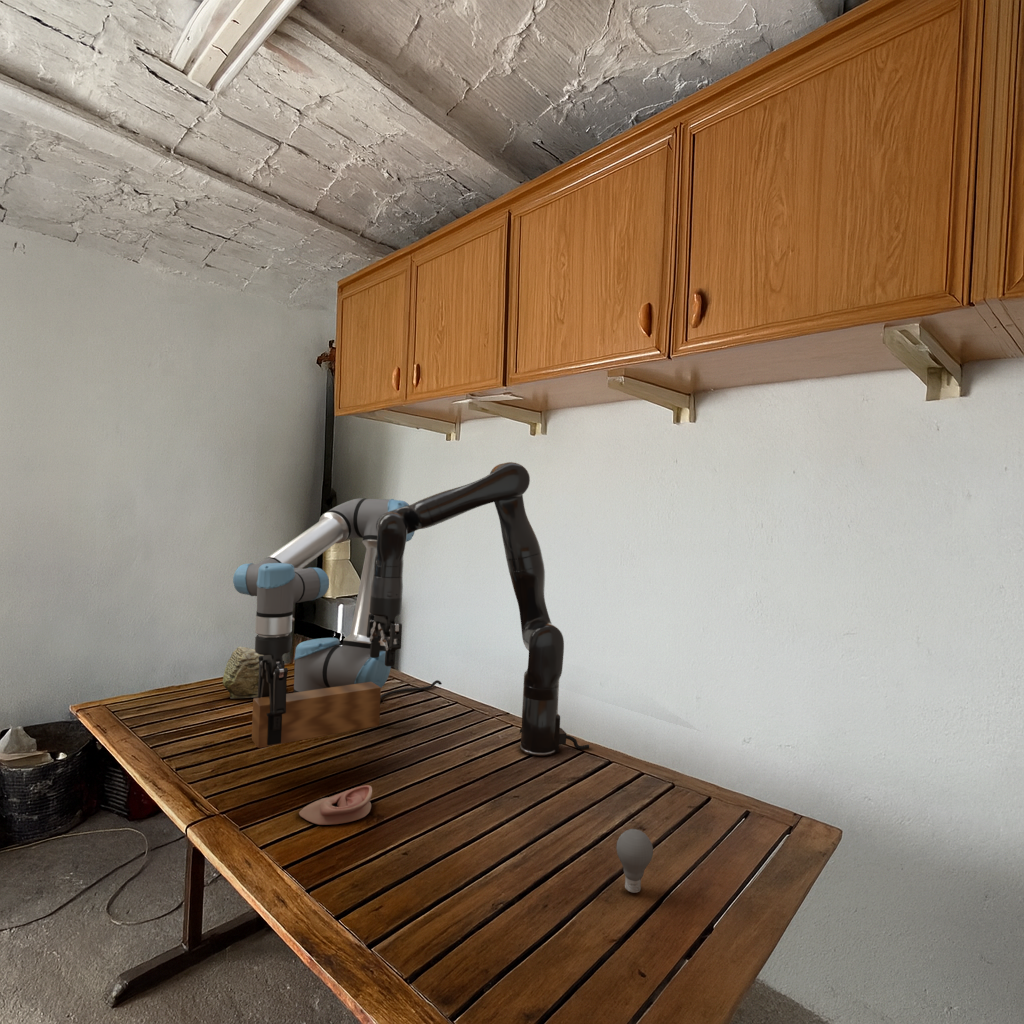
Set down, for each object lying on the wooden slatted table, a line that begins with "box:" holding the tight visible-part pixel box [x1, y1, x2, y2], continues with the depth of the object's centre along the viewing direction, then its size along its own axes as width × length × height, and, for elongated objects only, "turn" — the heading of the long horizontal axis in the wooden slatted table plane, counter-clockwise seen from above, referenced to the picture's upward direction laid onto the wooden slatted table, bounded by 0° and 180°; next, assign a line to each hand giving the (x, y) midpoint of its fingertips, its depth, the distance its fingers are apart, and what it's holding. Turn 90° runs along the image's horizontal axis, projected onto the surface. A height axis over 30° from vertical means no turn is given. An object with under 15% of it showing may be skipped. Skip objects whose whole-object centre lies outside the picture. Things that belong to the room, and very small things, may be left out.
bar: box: [251, 682, 382, 749], centre depth 146 cm, size 28×6×9 cm, turn 126°
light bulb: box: [615, 828, 654, 894], centre depth 106 cm, size 6×6×10 cm
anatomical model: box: [298, 784, 373, 826], centre depth 127 cm, size 13×4×12 cm
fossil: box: [222, 646, 288, 699], centre depth 198 cm, size 9×18×15 cm, turn 132°
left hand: (270, 738), depth 139 cm, fingers closed on bar, 6 cm apart
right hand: (381, 661), depth 153 cm, fingers open, 8 cm apart
